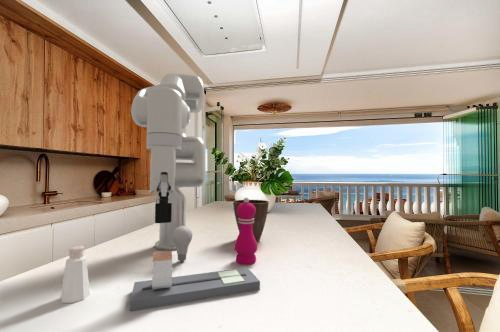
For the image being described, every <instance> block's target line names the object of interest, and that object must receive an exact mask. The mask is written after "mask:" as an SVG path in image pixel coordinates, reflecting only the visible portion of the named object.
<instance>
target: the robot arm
mask: <svg viewBox="0 0 500 332" xmlns="http://www.w3.org/2000/svg"><path fill="white" fill-rule="evenodd" d="M204 95H205V87H204V83H203V80H202V79H201V78H200V77H199V75H194V74H184V73H183V74H182V73H167V74H165V75H164V76H163V77H162V78H161V80H160V82H159V84H156V85H152V86H148V87H147V86H146V87H143V88H141V89H139V90H138V92H137V93H136V94H135V96H134V98H133V101H132V104H131V107H130V113H131V114H130V115H131V118H132V120H133V122H134V124H136V125H137V126H138V127H142V128H146V150H148V151H151V154H150V169H149V170H150V171H149V193H150V194H151V195H153V194H154V193H155V192H156V199H155V204H154V206H155V207H154V223H155V224H159V235H158V236H159V237H158V238H159V240H157V241H156V242H155V243H154V247H155V248H156V249H158V250H163V251H173V250H174V251H175V250H177V249H176V246H175V244H174V242H173V239H172V234H173V232H174V230H175V229H176V228H178V227H180V226H186V223H187V222H186V220H187V214H186V213H187V199H186V198H187V197H186V195H185V194H184V193H183V192H182V191H181V190H180V188H199V187H202V186H204V183H205V180H206V159H205V158H206V150H205V149H206V148H205V142H204V140H203V139H202V138H201V137H199V136H194V135H187V133H186V131H187V126H188V125H189V124H190V122H191V117H192V116H191V113H192V114H193V113H194V114H197V113H199V112H201V111H202V109H203V106H204V105H203V104H204V97H205V96H204ZM178 160H179V162H178ZM180 161H181V162H180ZM182 161H192V162H182ZM186 227H187V226H186Z"/></svg>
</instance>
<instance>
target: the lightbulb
mask: <svg viewBox="0 0 500 332" xmlns="http://www.w3.org/2000/svg"><path fill="white" fill-rule="evenodd" d="M192 238H193V232H192V230H191V229H190V228H189V227H187V226H180V227H178V228H176V229H175V230H174V232H173V234H172V239H173V242H174V244H175V246H176V249H175V250H176V254H177V261H179V262H181V263H183V262H184V261H186V260H187V254H188V249H189V245H190V243H191V241H192Z"/></svg>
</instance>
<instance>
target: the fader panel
mask: <svg viewBox="0 0 500 332" xmlns="http://www.w3.org/2000/svg"><path fill="white" fill-rule="evenodd" d="M260 286H261V281H260V280H259V278H257V276H256V275H255V274H254V273H253V272H252V271H251V269H250V268H248V267H241V268H240V267H239V268H232V269H227V270H226V269H225V270H218V271H211V272H203V273H196V274H187V275H179V276H172V287H168V288H161V289H154V290H152V279H150V280H140V281H134V283H133V288H132V291H131V296H130V301H129V312H131V311H133V312H134V311H139V310H140V311H141V310H144V309H150V308H157V307H163V306H169V305H175V304H181V303H187V302H192V301H198V300H205V299H211V298H216V297H223V296H229V295H235V294H242V293H247V292H253V291H254V292H255V291H259V290H261V289H260V288H261V287H260Z"/></svg>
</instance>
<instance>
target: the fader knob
mask: <svg viewBox="0 0 500 332" xmlns="http://www.w3.org/2000/svg"><path fill="white" fill-rule="evenodd" d="M172 251H173V250H163V251H153V252H152V270H151V271H152V279H151V280H152V290H154V289H161V288H168V287H172V277H173V276H172V275H173V253H172Z"/></svg>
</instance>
